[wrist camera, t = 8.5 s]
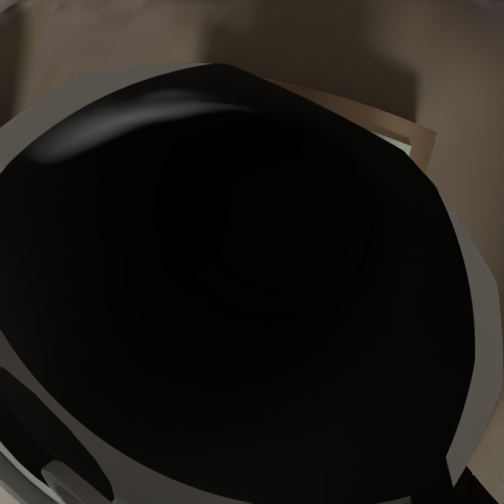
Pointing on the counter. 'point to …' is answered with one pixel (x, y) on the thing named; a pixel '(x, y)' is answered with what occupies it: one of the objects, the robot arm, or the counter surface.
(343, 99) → the plinth
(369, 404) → the can
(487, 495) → the robot arm
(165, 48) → the counter surface
